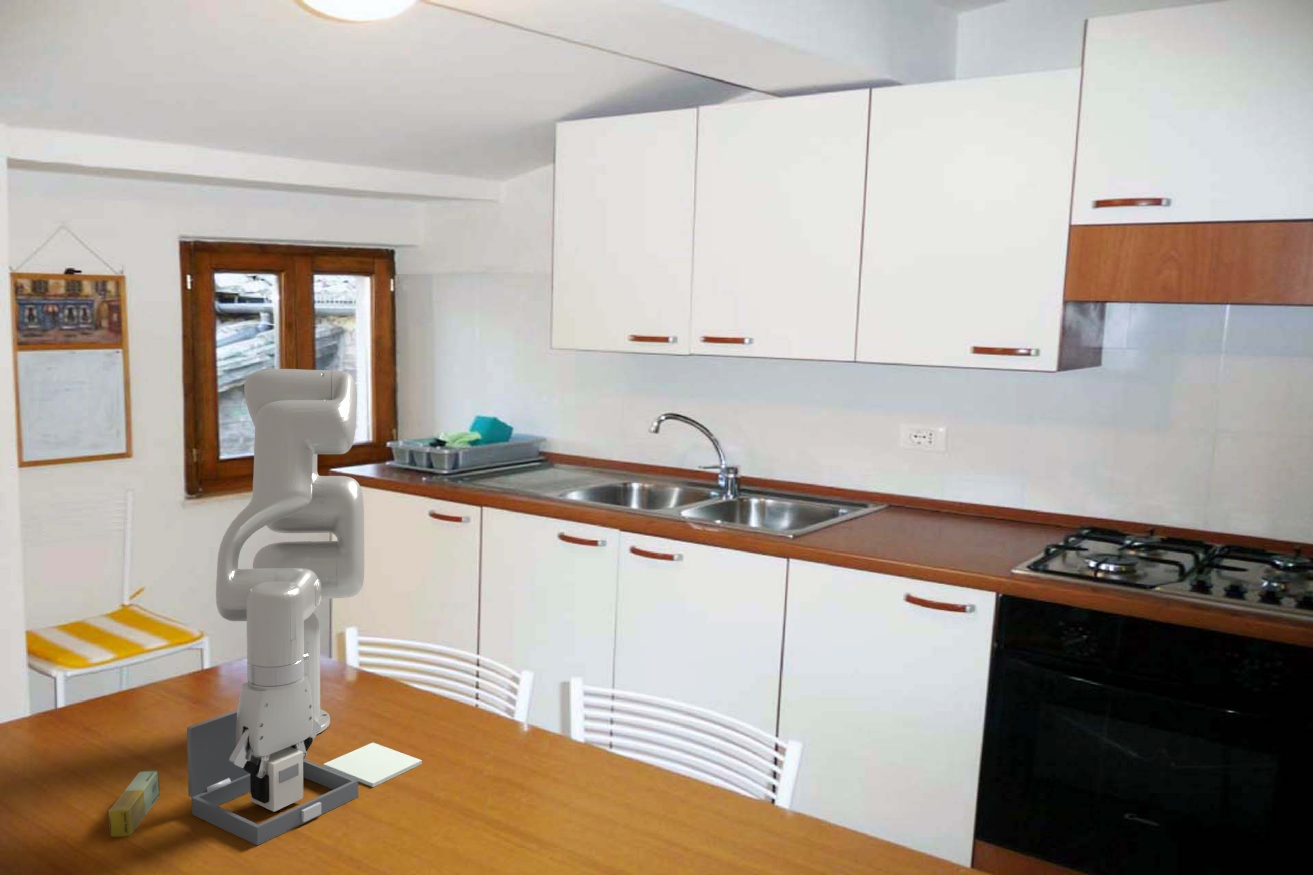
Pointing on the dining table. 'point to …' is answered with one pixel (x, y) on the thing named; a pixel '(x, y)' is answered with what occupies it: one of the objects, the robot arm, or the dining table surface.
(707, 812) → the dining table surface
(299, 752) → the block
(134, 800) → the medication box
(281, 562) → the robot arm
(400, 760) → the mat
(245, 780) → the case
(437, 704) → the dining table surface
